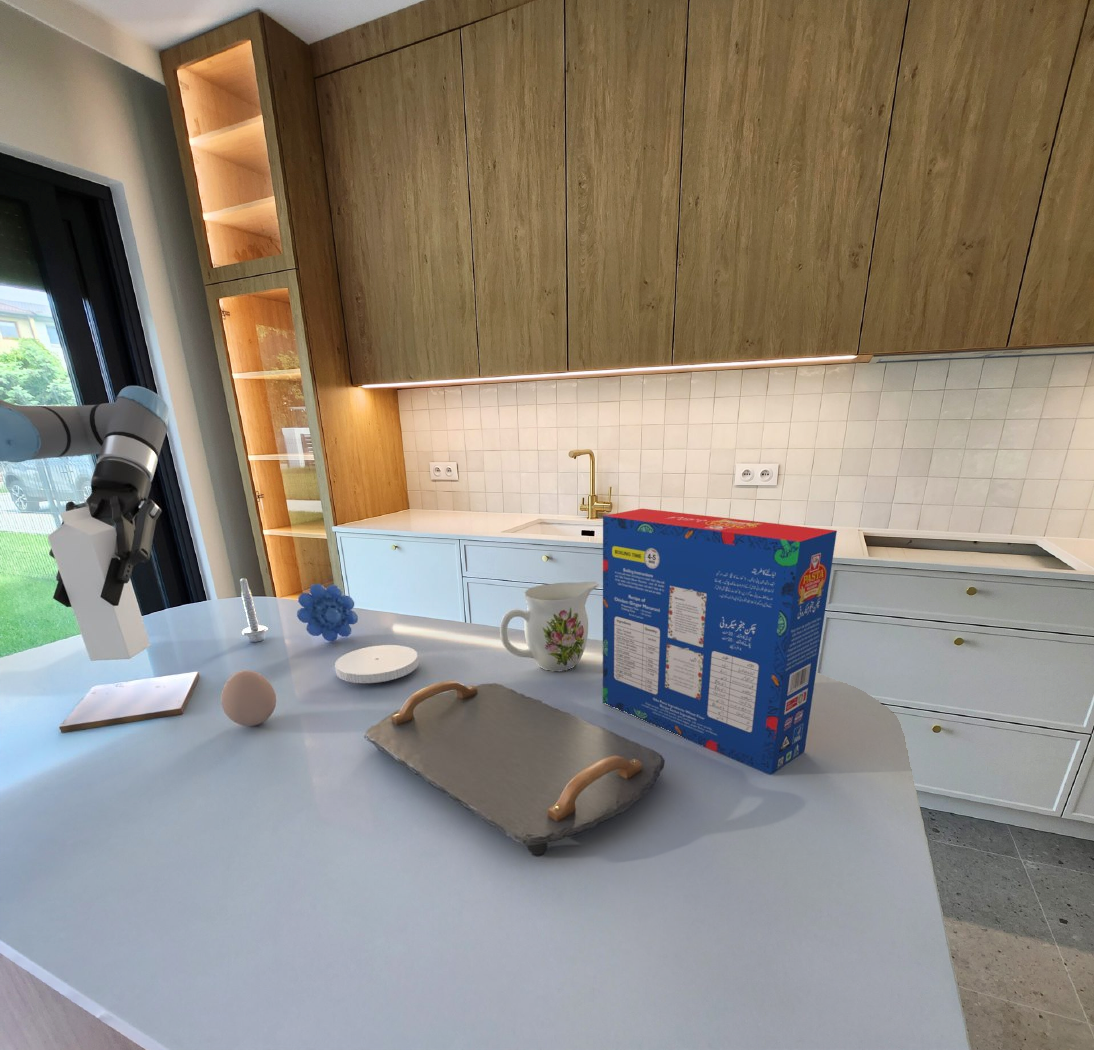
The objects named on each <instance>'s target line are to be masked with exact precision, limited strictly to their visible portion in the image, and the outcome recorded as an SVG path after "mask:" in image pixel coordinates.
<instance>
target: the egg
mask: <svg viewBox="0 0 1094 1050" xmlns="http://www.w3.org/2000/svg"><path fill="white" fill-rule="evenodd" d="M224 683H225V684H224V686H223V688H222V692H221V696H220V700H221V707H222V710H223V712H224V714H225V716H226V717H227V718H228V719H229V720H231V721H233V723H235V724H238V725H240V726H244V727H254V726H255V727H256V726H258V725H262V724H263V723H264V722H266V721H267V720H268V719H269V718H270V717H271V716H272V714H273V713H274V710H275V709H276V706H277V695H276V691H275V689H274V687H273V685H272V684H271V682H270V681H269V680H268V679H267V678H266V677H265V676H263V675H262V674H260V673H259V672H256V671H254V670H249V669H248V670H247V669H245V670H244V669H243V670H240V671H237V672H235V673H233V674H232V675H231V676H230V677H229V678H228V679H227V680H226V681H225V682H224Z"/></svg>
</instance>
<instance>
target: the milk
mask: <svg viewBox="0 0 1094 1050" xmlns="http://www.w3.org/2000/svg"><path fill="white" fill-rule="evenodd" d="M61 518H62V522H63V521H64V524H63V525H62V526H61V525H60V526H59V527H57V529H55V530H54V531H52V532H51V533H50V534H48V535H47V540H48V543H49V546H50V550H51V549H52V552H53V554H54V557H55V559H54V560H55V563H56V566H57V568H58V569H57V570H59V572H60V575H61V577H62V580H63V583H64V586H65V589H66V592H67V595H68V598H69V600H70V603H71V606H72V607H71V610H72V612H73V615H74V616H75V617H74V618H75V620H76V624H77V626H78V629H79V632H80V635H81V638H82V641H83V644H84V646H85V649H86V652H87V655H88V658H89V660H90V661H91V662H93V661H95V662H97V661H114V660H115V661H116V660H130V659H133V658H134V657H136V655H138V654H140V653H141V652H143V651H144V650H146V649H147V648H149V647H150V646H151V642H150V638H149V636H148V632H147V629H146V626H145V623H144V619H143V616H142V613H141V609H140V605H139V603H138V599H137V596H136V593H135V589H134V587H133V583H132V580H131V578H130V580H129V582H128V583H124V587H123V590H122V594H121V597H120V601H119V605H118V606H113V605H111V604H110V603H108V602H107V601H105V600H104V599H103V598H101V597H100V596H101V593H102V589H103V586H104V582H105V579H106V575H107V572H108V569H109V565H110V562H111V558H118V559H119V560H120V558H119V557H118V556H117V555H116V554H115V553H117V552H118V549H117V538H116V536H117V533H116V527H114V526H110V525H108V524H106V523H104V522H102V521H99V520H97V519H95V518H93V517H91V514H90V511H89V508H88V507H83V508H79V509H74V510H70V511H66V510H65V511H62V512H61ZM117 554H118V553H117Z"/></svg>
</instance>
